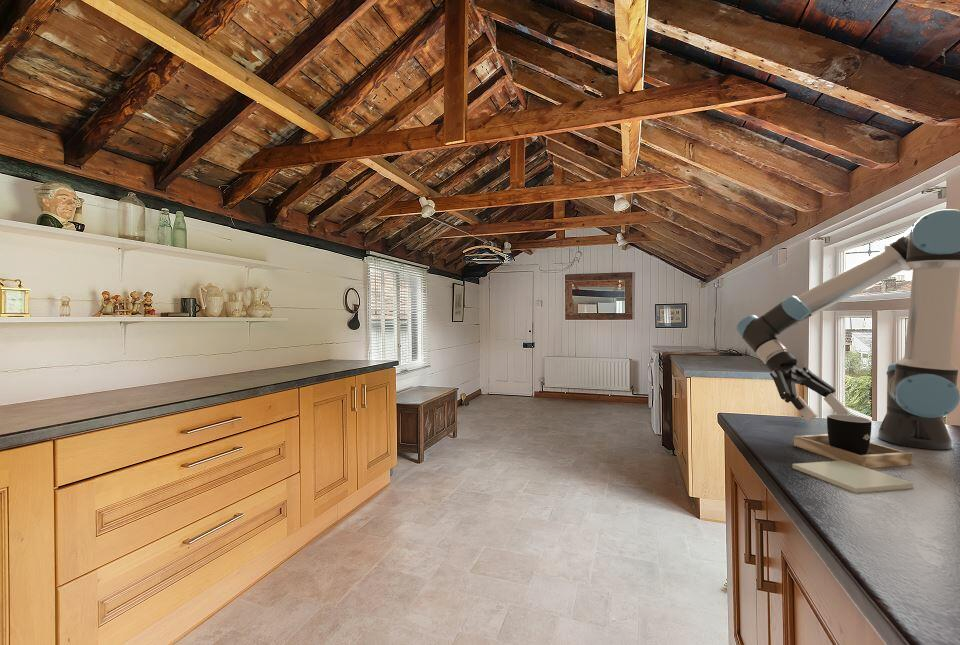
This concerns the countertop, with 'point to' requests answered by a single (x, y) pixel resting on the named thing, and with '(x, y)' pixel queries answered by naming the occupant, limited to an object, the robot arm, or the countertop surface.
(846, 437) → the mug
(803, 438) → the rectangular wooden frame
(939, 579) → the countertop surface
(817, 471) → the tile
